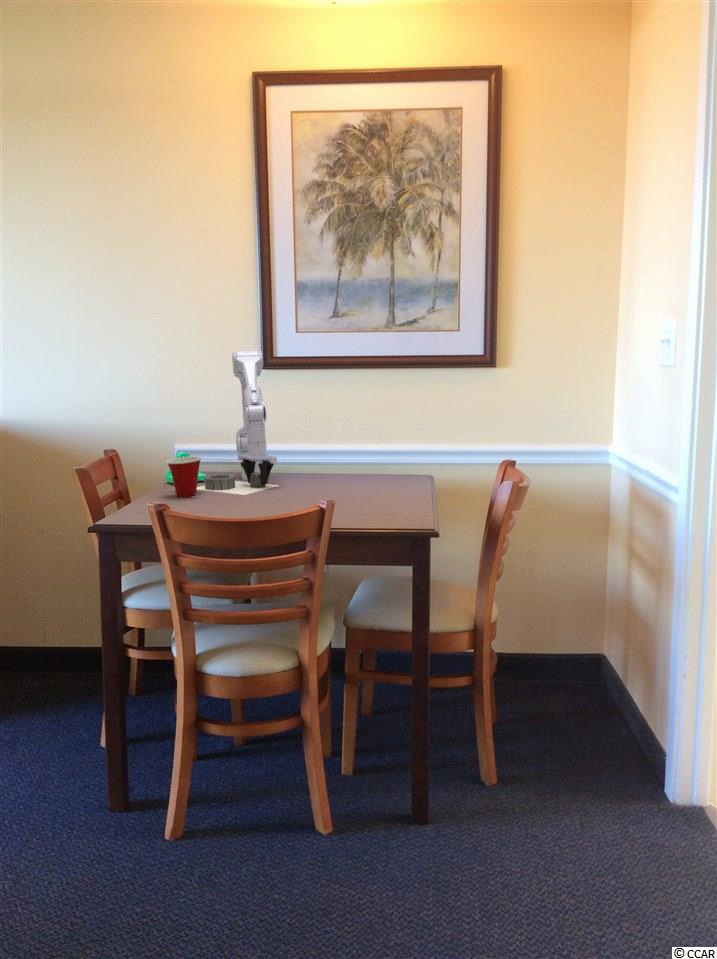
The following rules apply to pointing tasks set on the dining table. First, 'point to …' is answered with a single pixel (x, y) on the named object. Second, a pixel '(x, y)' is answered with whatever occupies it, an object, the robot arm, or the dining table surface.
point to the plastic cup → (185, 475)
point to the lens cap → (256, 480)
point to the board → (230, 485)
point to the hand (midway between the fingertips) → (257, 483)
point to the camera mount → (180, 455)
